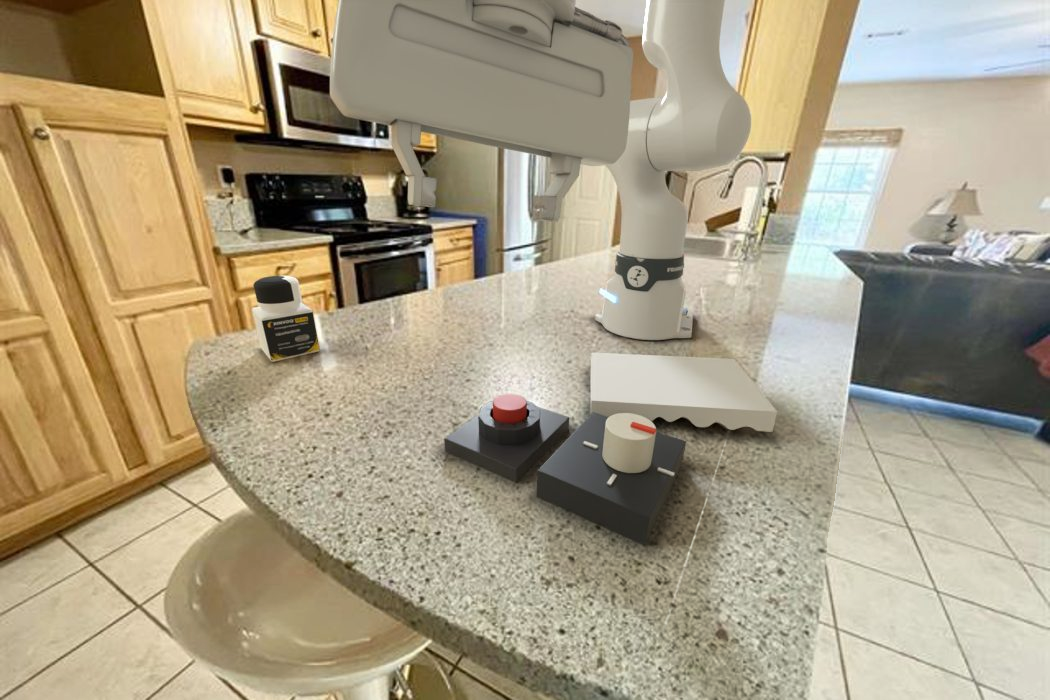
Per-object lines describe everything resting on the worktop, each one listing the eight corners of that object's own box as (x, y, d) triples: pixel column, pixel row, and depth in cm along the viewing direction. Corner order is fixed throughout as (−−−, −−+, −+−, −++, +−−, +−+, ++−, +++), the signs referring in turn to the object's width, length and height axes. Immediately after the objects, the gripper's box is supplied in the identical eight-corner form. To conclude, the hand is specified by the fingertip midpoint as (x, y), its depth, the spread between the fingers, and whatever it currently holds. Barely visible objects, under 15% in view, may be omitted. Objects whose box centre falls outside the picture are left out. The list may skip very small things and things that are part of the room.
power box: (504, 407, 53) (504, 382, 51) (569, 429, 48) (570, 403, 47) (444, 451, 44) (442, 423, 43) (516, 483, 40) (516, 453, 38)
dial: (594, 462, 38) (598, 426, 36) (612, 438, 41) (616, 405, 40) (642, 480, 36) (648, 442, 34) (657, 453, 39) (663, 419, 38)
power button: (505, 404, 47) (505, 390, 47) (532, 413, 45) (533, 399, 45) (486, 418, 44) (485, 403, 44) (514, 428, 43) (514, 414, 42)
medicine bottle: (271, 363, 64) (253, 285, 59) (261, 349, 69) (243, 276, 64) (320, 351, 68) (307, 278, 64) (307, 339, 73) (294, 270, 69)
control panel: (590, 434, 47) (592, 410, 46) (684, 466, 42) (689, 440, 41) (536, 497, 38) (537, 468, 37) (648, 548, 33) (653, 517, 32)
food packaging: (590, 425, 50) (770, 438, 47) (591, 400, 48) (777, 411, 46) (590, 373, 63) (730, 380, 61) (591, 352, 62) (734, 358, 59)
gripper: (609, 45, 33) (583, 226, 37) (324, -60, 24) (330, 195, 28) (667, 16, 28) (629, 230, 32) (329, -134, 19) (335, 195, 23)
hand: (487, 214), depth 30 cm, fingers open, 8 cm apart
